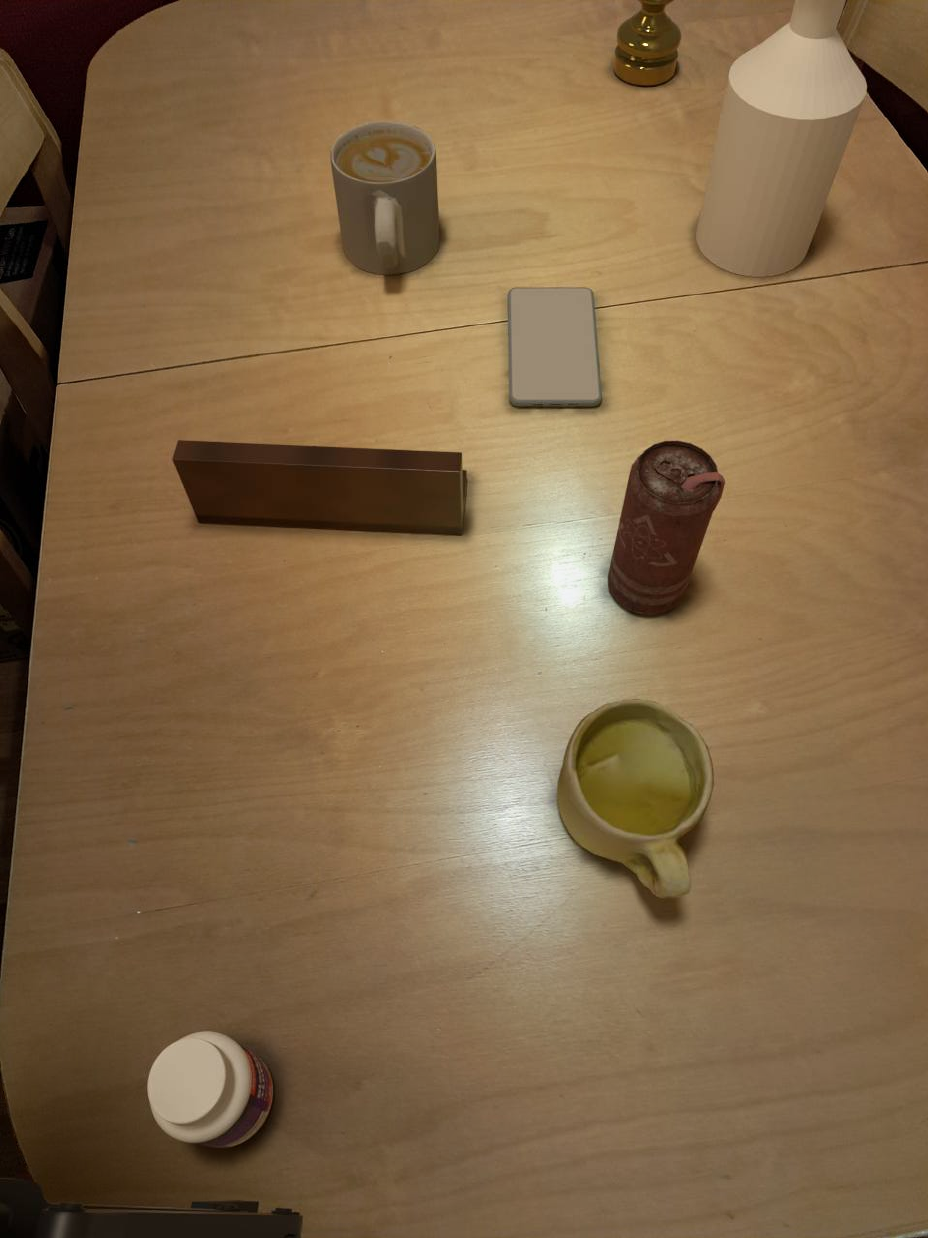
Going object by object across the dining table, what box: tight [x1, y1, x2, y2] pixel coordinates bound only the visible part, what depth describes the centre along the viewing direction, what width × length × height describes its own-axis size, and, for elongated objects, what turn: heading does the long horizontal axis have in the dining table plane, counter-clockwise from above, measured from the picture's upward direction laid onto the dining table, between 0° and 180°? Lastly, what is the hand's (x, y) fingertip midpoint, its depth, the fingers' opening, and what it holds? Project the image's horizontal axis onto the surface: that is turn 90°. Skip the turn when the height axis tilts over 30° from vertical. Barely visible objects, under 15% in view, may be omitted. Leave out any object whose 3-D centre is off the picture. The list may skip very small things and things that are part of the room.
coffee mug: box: [329, 120, 441, 276], centre depth 91 cm, size 13×10×10 cm
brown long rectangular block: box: [171, 439, 468, 536], centre depth 76 cm, size 22×6×8 cm, turn 86°
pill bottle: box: [146, 1030, 274, 1149], centre depth 52 cm, size 5×5×10 cm
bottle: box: [695, 0, 868, 278], centre depth 85 cm, size 12×12×25 cm
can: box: [607, 440, 726, 615], centre depth 68 cm, size 6×6×14 cm
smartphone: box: [507, 286, 603, 407], centre depth 88 cm, size 8×1×15 cm
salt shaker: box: [613, 0, 682, 87], centre depth 108 cm, size 7×7×10 cm
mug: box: [556, 698, 715, 899], centre depth 61 cm, size 12×10×10 cm
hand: (57, 1232), depth 34 cm, fingers open, 13 cm apart
